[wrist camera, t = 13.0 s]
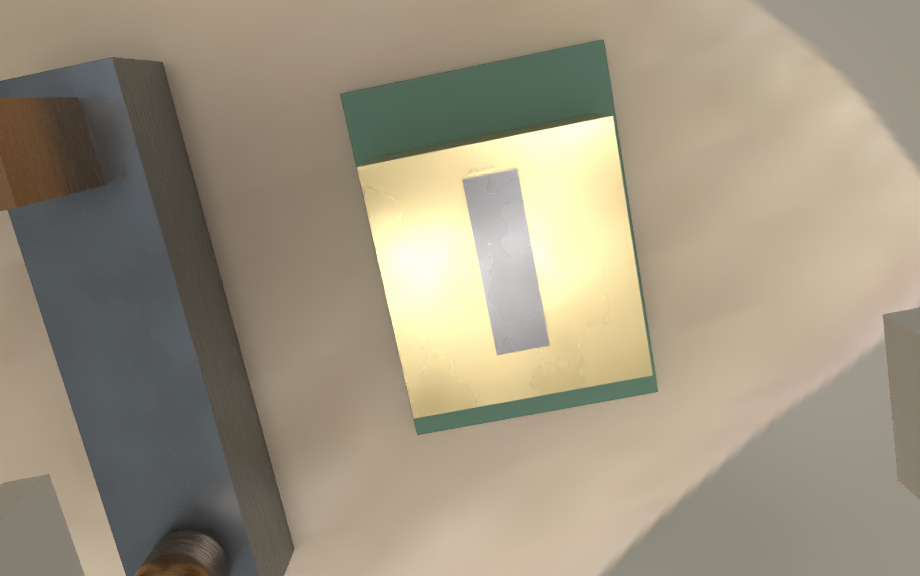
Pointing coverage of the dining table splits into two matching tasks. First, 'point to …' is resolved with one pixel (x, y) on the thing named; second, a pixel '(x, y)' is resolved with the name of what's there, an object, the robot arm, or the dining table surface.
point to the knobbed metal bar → (139, 319)
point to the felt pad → (483, 112)
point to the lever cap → (508, 264)
